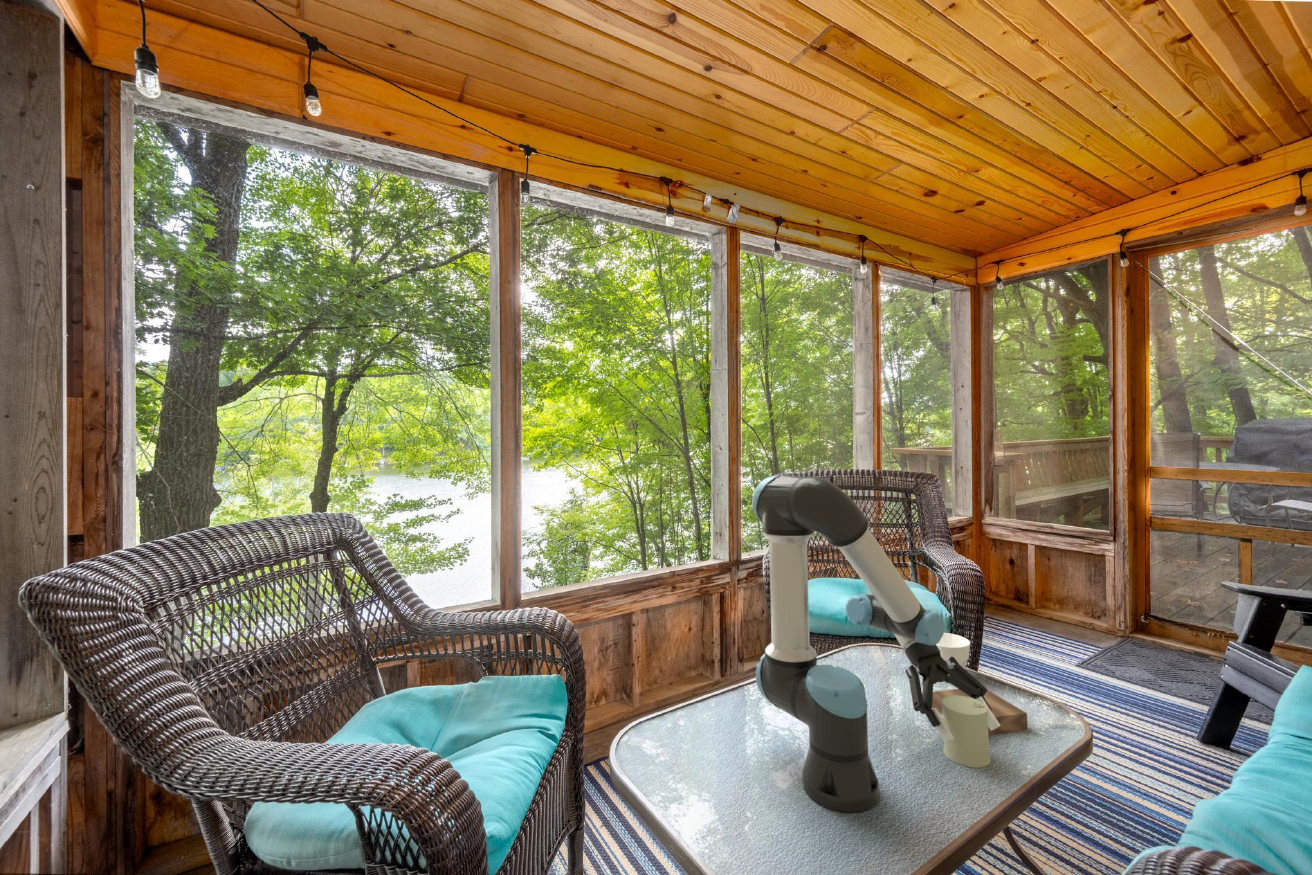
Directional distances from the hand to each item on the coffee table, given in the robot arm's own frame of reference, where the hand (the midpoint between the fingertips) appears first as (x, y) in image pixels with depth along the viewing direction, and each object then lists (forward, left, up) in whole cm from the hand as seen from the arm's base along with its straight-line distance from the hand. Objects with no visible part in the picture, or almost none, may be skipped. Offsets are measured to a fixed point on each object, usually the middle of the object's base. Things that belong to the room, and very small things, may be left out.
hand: (973, 734), depth 120 cm
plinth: (+13, +16, -5) cm, 21 cm away
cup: (+22, +39, -6) cm, 45 cm away
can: (-1, +2, -6) cm, 6 cm away
